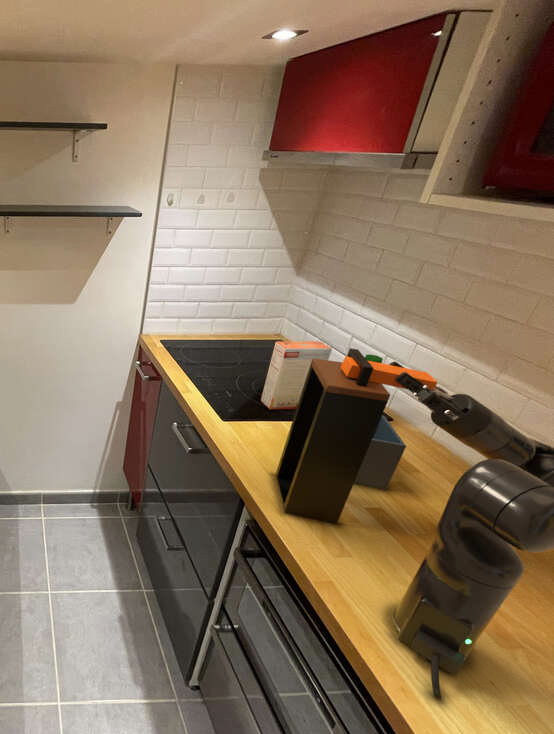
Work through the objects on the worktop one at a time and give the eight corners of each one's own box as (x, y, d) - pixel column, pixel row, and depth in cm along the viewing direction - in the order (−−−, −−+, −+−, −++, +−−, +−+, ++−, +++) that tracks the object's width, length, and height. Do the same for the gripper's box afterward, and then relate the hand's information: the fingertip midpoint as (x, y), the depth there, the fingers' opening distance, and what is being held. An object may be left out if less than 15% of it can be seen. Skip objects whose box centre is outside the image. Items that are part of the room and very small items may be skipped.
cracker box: (301, 400, 143) (320, 340, 134) (313, 410, 138) (334, 348, 129) (258, 400, 142) (275, 340, 134) (269, 410, 137) (286, 348, 128)
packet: (420, 383, 87) (427, 372, 86) (431, 394, 83) (437, 382, 82) (340, 367, 91) (345, 356, 90) (346, 376, 87) (352, 364, 86)
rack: (321, 485, 106) (373, 348, 91) (336, 524, 95) (398, 375, 80) (275, 475, 109) (317, 341, 94) (284, 512, 98) (334, 366, 83)
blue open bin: (367, 456, 117) (384, 415, 111) (386, 489, 105) (406, 446, 100) (309, 445, 121) (323, 405, 115) (321, 476, 109) (337, 433, 104)
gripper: (470, 392, 89) (397, 342, 90) (514, 431, 77) (430, 372, 78) (434, 416, 93) (365, 368, 94) (471, 456, 81) (391, 400, 81)
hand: (395, 370), depth 86 cm, fingers closed on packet, 4 cm apart
